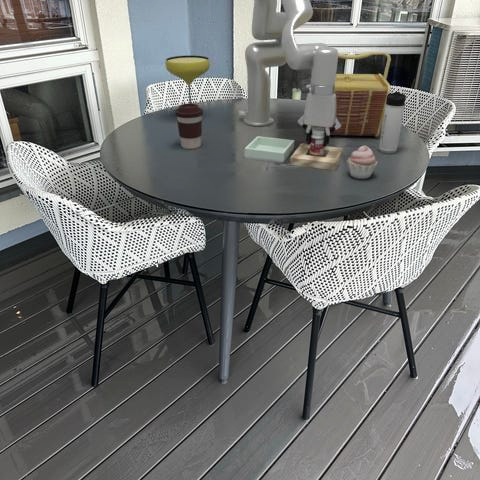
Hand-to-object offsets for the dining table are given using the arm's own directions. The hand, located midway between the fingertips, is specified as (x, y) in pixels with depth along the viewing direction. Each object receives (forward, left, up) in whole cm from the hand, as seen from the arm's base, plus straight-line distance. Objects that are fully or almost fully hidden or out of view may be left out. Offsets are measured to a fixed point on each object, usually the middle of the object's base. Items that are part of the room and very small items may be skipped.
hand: (317, 143), depth 153 cm
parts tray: (-17, 0, -5) cm, 18 cm away
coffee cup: (-47, -2, -6) cm, 47 cm away
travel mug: (+22, +17, -6) cm, 28 cm away
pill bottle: (0, 0, -3) cm, 3 cm away
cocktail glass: (-62, +29, -6) cm, 68 cm away
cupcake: (+16, -9, -6) cm, 20 cm away
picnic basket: (+3, +35, -6) cm, 35 cm away
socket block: (0, 0, -5) cm, 6 cm away
